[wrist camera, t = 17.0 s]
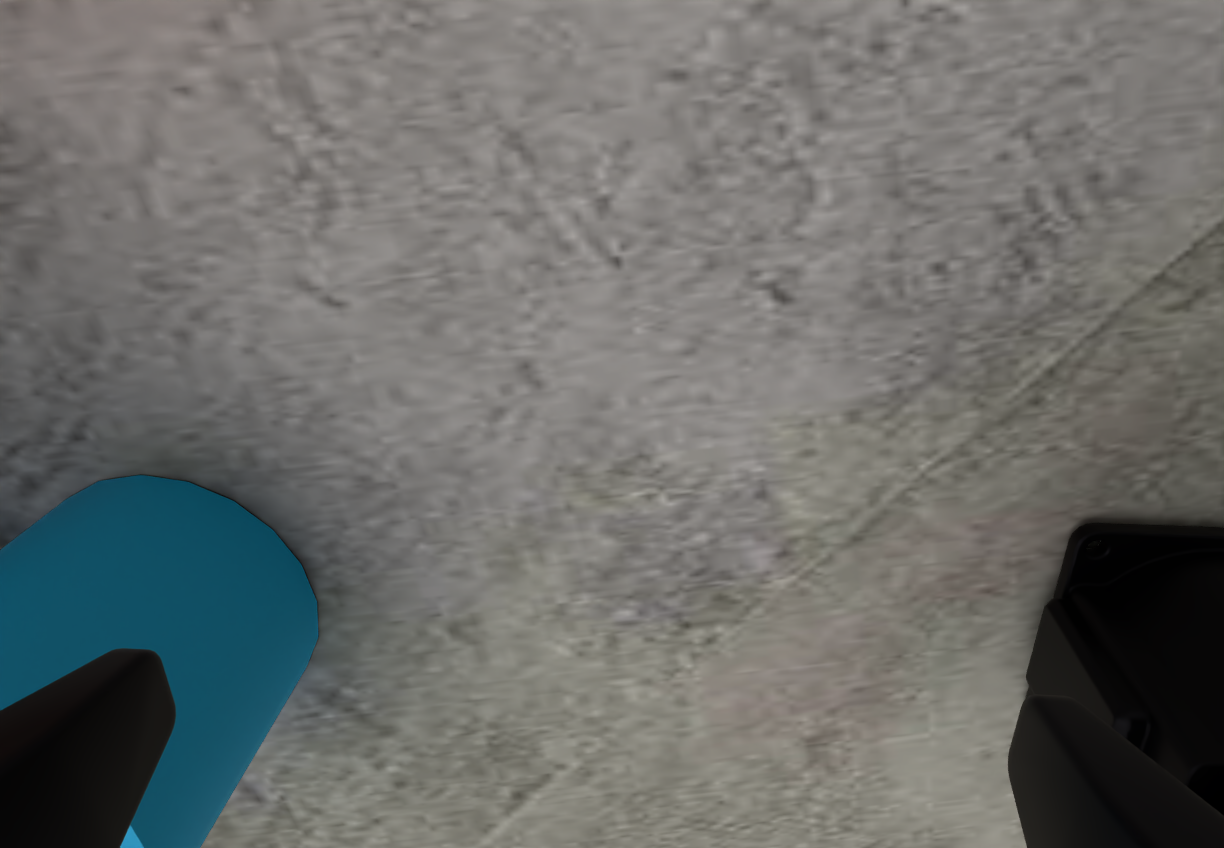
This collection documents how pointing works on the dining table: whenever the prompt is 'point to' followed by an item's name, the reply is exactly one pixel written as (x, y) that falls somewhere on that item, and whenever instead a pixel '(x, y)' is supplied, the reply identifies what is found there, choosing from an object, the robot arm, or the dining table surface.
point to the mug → (164, 627)
